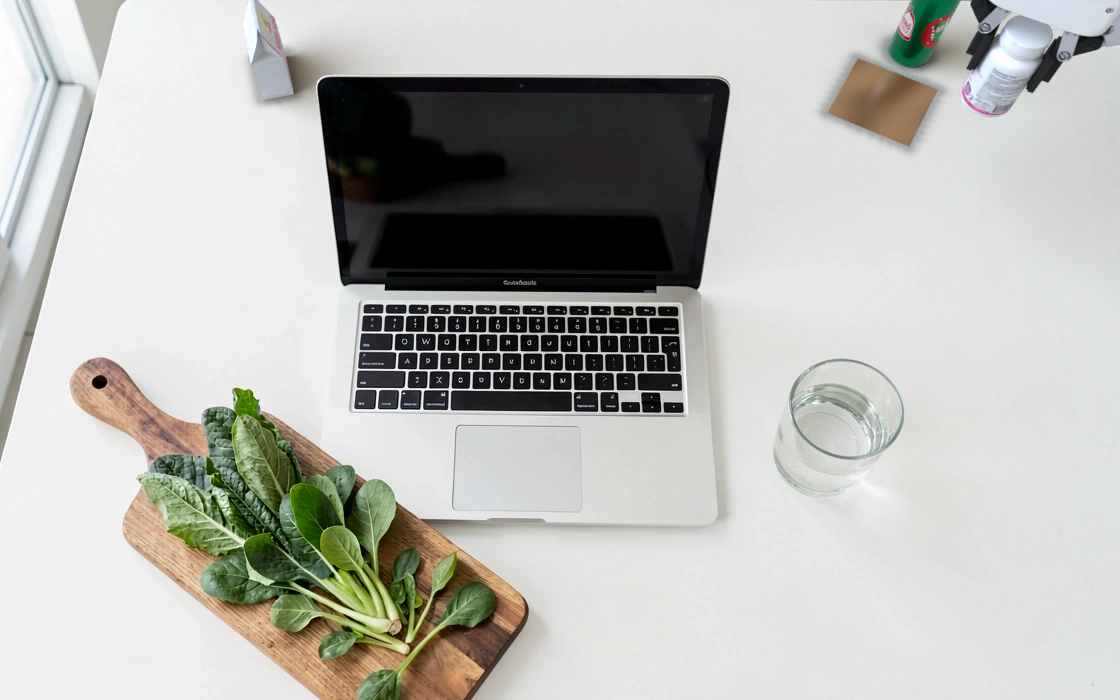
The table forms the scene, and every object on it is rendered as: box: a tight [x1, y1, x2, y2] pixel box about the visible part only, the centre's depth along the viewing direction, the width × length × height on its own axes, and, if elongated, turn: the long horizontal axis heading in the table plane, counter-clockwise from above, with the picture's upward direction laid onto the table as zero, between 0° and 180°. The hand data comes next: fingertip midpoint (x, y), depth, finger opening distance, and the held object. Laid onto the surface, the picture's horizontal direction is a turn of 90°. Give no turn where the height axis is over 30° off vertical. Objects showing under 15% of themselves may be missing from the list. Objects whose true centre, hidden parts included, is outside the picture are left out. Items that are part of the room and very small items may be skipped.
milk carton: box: [242, 0, 295, 101], centre depth 105 cm, size 4×7×10 cm, turn 15°
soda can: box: [887, 0, 962, 68], centre depth 105 cm, size 5×5×12 cm
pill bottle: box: [960, 14, 1054, 119], centre depth 82 cm, size 5×5×8 cm
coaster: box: [826, 58, 938, 147], centre depth 107 cm, size 10×10×1 cm
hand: (1004, 69), depth 82 cm, fingers closed on pill bottle, 4 cm apart
